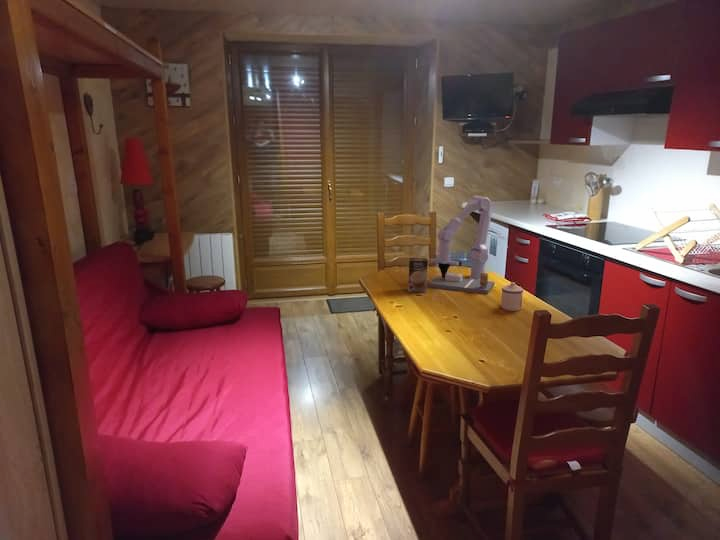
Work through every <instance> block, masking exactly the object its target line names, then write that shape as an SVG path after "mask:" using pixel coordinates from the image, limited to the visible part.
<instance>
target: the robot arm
mask: <svg viewBox="0 0 720 540" xmlns="http://www.w3.org/2000/svg"><path fill="white" fill-rule="evenodd" d="M491 205H492V201H491V200H490V199H489V198H488V197H487V196H480V195H473V196H471V197H470V199H468V201H467V204H466V205H465V206H464V208H463V209H462V210H461V212H460V213H458V215H457V217H453V218H450V220H449V221H448V223H447V224H446V225H444V227H443V228H442V229H439V231H438V233H437V237H438V239H439V244H438V245H439V248H438V249H439V250H438V255H439V256H438V258H431V259H430V264H438V269H439V270H440V274H441V276H442V278H445V274H447V273H448V271H449V268H450V267H451V266H455V267H456V266H457V267H458V266H459V265H460V264H459V261H457V260H452V259H451V250H452V249H451V248H452V247H451V245H452V240H453V239H454V235H455V234H456V232H457V231H458V230H459V229H461V226H462V225H463V224H462V223H463V221H464V220H465V219H466V218H468V216H469V215H470V214H471V213H472V212H475V211H476V212H478V213H479V214H480V215H479V216H480V217H479V221H478V226H477V231H476V238H475V242H474V244H473V245H471V249H470V250H469V252H468V257H469V259H470V261H471V263H470V276H469V277H468V278H467V279H474V280H480V275H481V273H486V269H487V267H486V262H487V261H488V260H489V250H488V247H487V246H486V244H487V240H488V236H489V228H490V223H491V219H492V214H493V213H492V212H493V211H492V206H491Z"/></svg>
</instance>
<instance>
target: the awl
mask: <svg viewBox="0 0 720 540" xmlns="http://www.w3.org/2000/svg"><path fill="white" fill-rule="evenodd" d="M488 281H489V273H487V272H485V273H481V275H480V288H487V283H488Z"/></svg>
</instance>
